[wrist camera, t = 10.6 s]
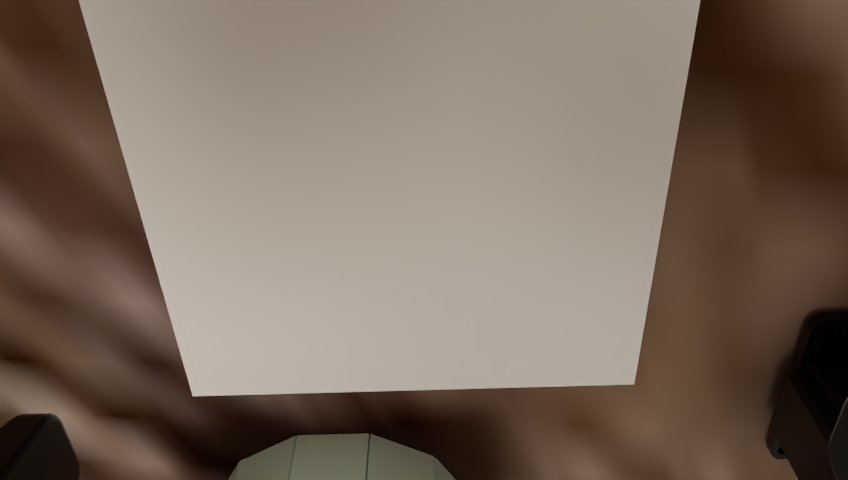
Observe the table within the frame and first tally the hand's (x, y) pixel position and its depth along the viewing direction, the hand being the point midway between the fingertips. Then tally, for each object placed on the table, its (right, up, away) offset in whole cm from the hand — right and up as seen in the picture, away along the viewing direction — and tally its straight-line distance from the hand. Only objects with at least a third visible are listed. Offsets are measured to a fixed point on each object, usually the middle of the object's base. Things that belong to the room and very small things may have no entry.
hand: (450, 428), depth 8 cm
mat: (-1, +3, +13) cm, 13 cm away
